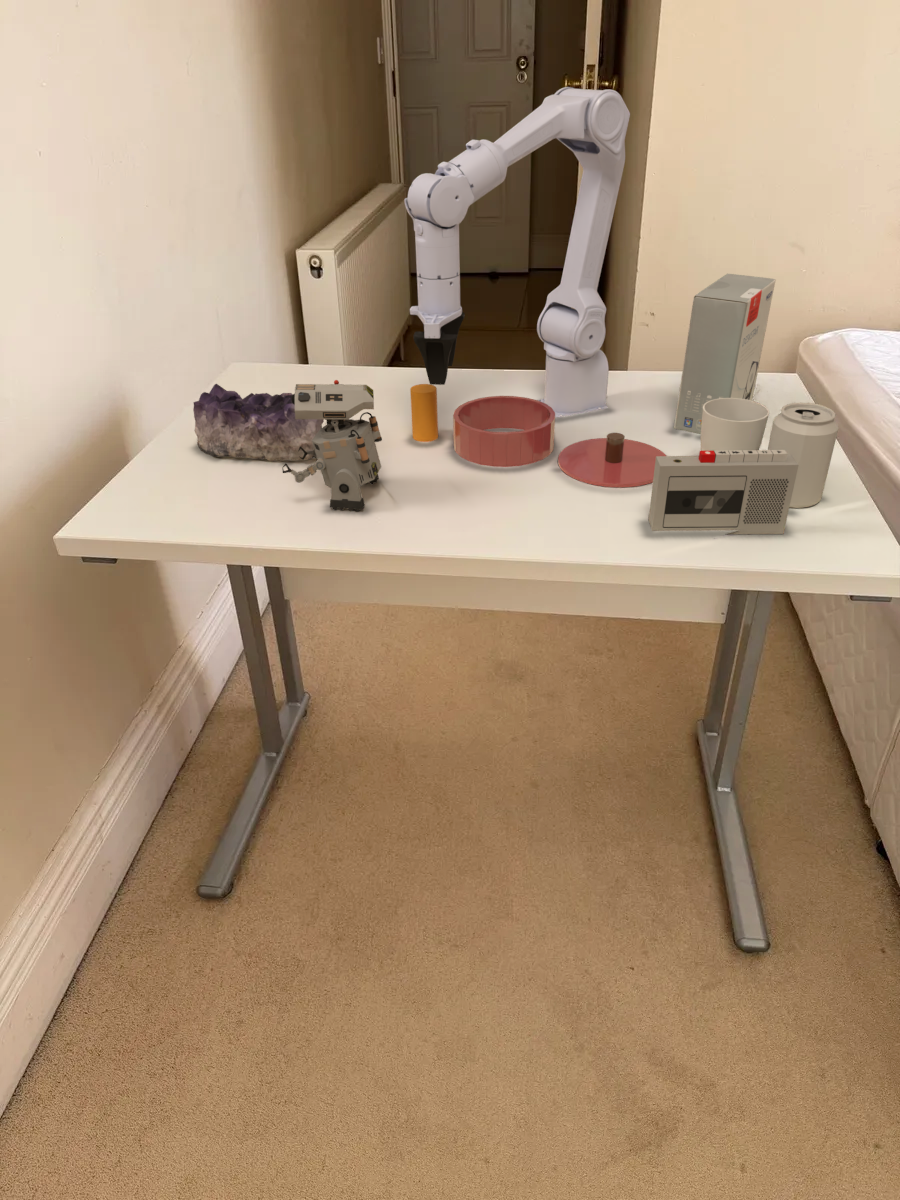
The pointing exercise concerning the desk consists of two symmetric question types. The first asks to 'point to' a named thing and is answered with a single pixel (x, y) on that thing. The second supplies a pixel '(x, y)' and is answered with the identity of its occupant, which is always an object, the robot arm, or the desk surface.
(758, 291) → the hard drive box
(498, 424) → the pot
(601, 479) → the lid
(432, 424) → the candle
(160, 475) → the desk surface
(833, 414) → the can
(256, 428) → the geode
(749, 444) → the cup
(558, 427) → the desk surface
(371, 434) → the figurine
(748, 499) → the cassette player
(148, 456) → the desk surface
